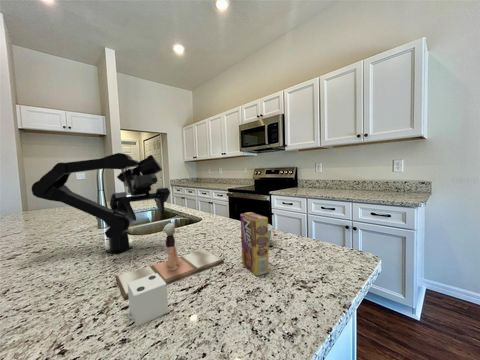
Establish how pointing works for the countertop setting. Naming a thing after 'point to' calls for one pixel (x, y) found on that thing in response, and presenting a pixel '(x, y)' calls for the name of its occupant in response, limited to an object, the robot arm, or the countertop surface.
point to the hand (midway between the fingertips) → (150, 217)
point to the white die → (147, 298)
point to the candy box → (255, 243)
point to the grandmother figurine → (171, 247)
